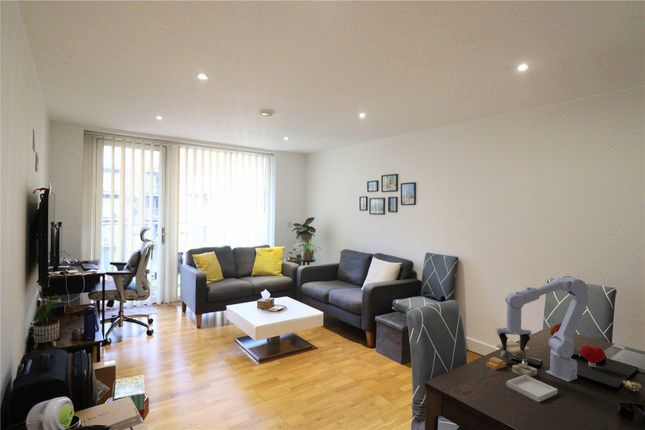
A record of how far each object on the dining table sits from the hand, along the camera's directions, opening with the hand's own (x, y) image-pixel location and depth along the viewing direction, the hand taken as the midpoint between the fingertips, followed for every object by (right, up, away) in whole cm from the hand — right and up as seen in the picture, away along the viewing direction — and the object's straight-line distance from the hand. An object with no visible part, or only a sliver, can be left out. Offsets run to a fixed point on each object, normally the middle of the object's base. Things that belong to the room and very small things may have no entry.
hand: (513, 350), depth 155 cm
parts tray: (-2, -10, -17) cm, 20 cm away
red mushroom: (+40, -10, +5) cm, 41 cm away
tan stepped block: (-6, -9, +4) cm, 12 cm away
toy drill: (+38, -10, +24) cm, 46 cm away
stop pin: (+4, -9, -2) cm, 10 cm away
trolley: (+4, -9, +9) cm, 14 cm away
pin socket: (+4, -9, -2) cm, 10 cm away
